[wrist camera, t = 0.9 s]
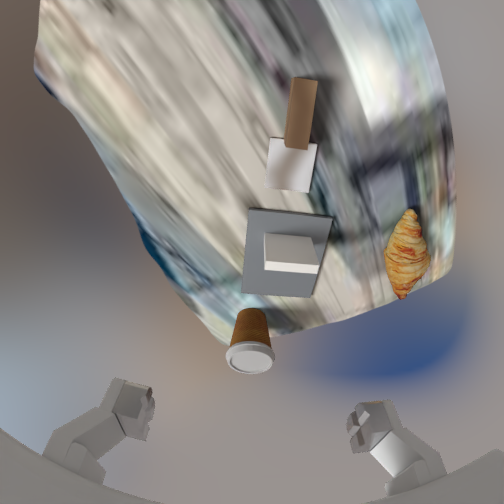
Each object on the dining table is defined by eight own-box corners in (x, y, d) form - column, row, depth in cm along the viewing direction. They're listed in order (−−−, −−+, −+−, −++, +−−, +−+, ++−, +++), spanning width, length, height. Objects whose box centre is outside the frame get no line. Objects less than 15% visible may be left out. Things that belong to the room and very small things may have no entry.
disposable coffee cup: (282, 314, 58) (285, 360, 48) (255, 336, 63) (255, 379, 53) (246, 295, 55) (243, 342, 45) (221, 320, 59) (216, 364, 50)
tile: (264, 232, 46) (265, 260, 39) (310, 237, 46) (319, 265, 39) (263, 241, 47) (264, 270, 40) (308, 245, 47) (316, 274, 40)
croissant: (385, 200, 46) (382, 220, 41) (435, 203, 41) (439, 224, 35) (383, 284, 57) (378, 309, 52) (424, 289, 52) (422, 315, 46)
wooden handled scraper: (325, 84, 32) (332, 84, 29) (307, 191, 42) (312, 201, 39) (277, 76, 32) (279, 74, 29) (264, 186, 42) (265, 195, 39)
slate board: (249, 207, 44) (248, 209, 43) (331, 216, 45) (332, 219, 44) (241, 290, 54) (241, 292, 54) (309, 295, 55) (310, 297, 54)
